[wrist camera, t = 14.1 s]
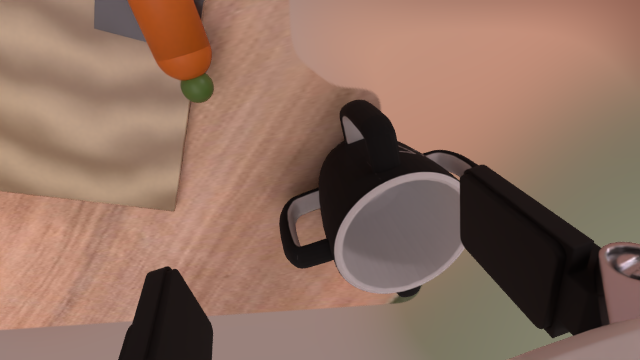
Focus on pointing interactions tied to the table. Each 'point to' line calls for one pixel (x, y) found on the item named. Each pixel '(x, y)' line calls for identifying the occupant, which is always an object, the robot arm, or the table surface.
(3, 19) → the chopping board
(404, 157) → the mug
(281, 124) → the table surface
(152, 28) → the carrot
